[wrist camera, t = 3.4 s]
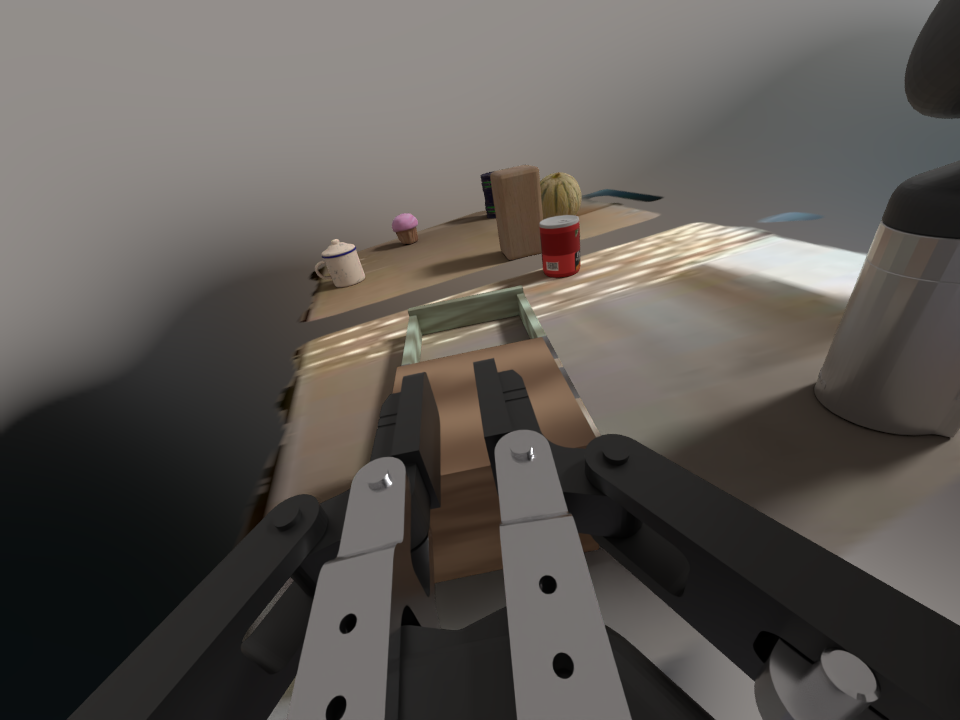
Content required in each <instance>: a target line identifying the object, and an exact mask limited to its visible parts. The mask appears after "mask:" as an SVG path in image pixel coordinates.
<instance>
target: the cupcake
mask: <svg viewBox="0 0 960 720" xmlns="http://www.w3.org/2000/svg"><path fill="white" fill-rule="evenodd" d="M417 225H418V221H417V219H416V218H415V217H414V216H413V215H411V214H410V213H408V214H404V213H403V214H401V215H398V216H396V217H395V219H394V220H393V223H392V228H393V231H394V232H396V234H397V236H398V238H399V240H400V241H401V242H402V243H403V244H412V243H414V242H416V241H417V240H418V235H417V230H416V226H417Z"/></svg>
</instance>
